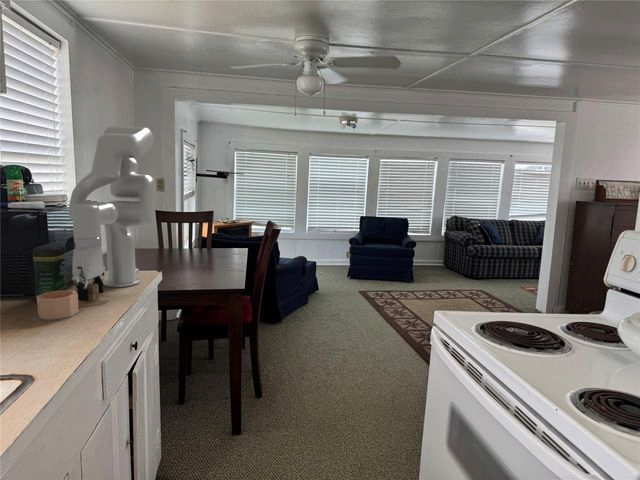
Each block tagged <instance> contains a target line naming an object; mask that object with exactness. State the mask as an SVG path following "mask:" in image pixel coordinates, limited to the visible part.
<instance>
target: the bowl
mask: <svg viewBox="0 0 640 480" xmlns="http://www.w3.org/2000/svg"><path fill="white" fill-rule="evenodd" d="M36 302H37V316H39V318H40V319H42V320H59V319H65V318H69V317H72V316H74V315H76V314H77V313H78V312H79V308H80V307H78V293H77V291H76V290H72V289H71V290H69V289H68V290H59V291H52V292H46V293H43V294H41V295H38V296H37V301H36ZM77 315H78V314H77ZM77 315H76V316H77ZM74 317H75V316H74ZM72 318H73V317H72Z"/></svg>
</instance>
